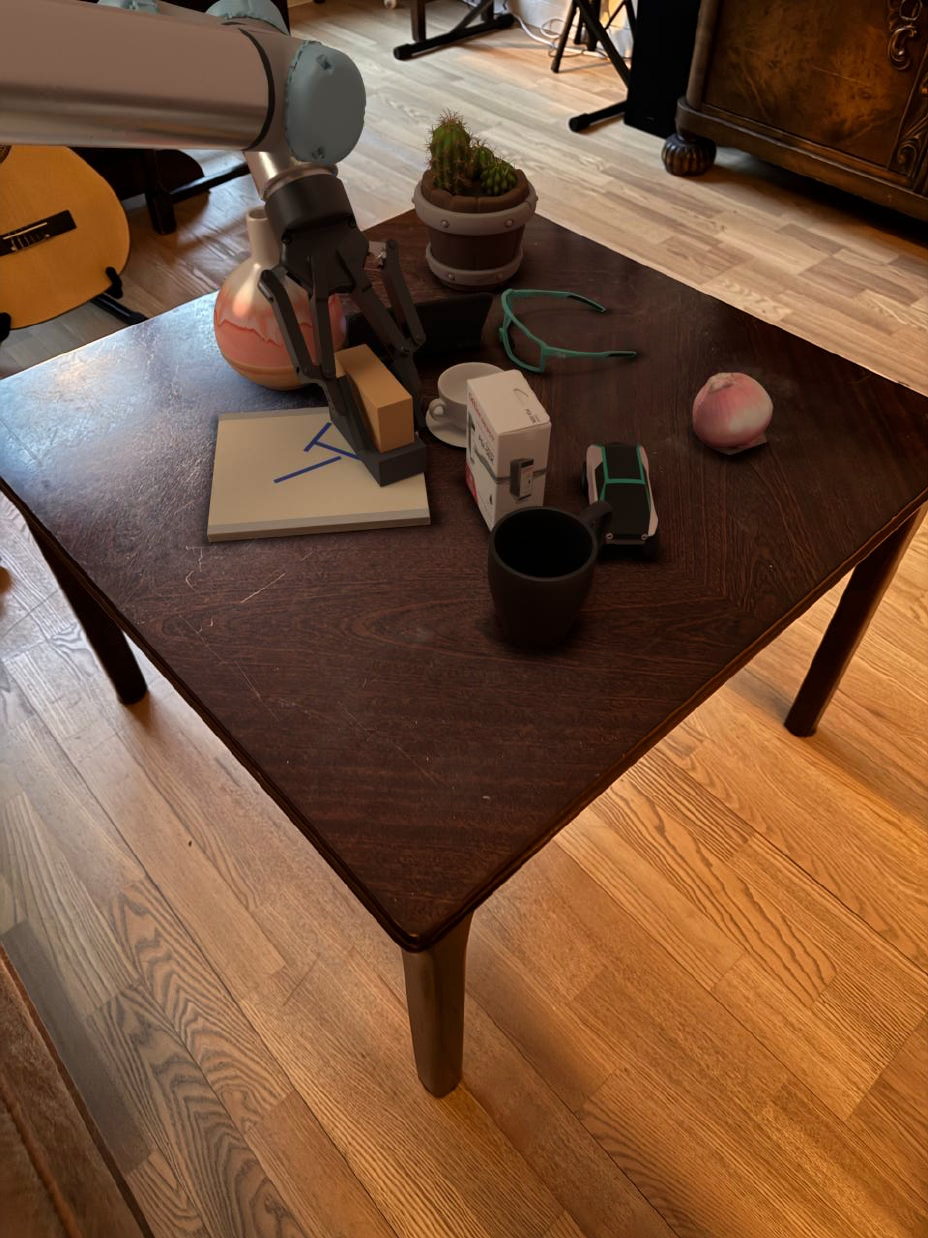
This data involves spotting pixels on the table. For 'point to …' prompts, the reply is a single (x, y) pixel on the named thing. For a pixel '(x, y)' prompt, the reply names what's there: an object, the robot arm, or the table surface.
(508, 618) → the mug
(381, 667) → the table surface
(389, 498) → the board
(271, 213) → the robot arm
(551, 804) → the table surface
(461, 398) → the teacup
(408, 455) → the eraser
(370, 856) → the table surface
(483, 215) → the flowerpot
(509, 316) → the sunglasses
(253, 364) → the vase
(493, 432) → the ink box
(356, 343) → the game console
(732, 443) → the onion
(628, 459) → the toy car
